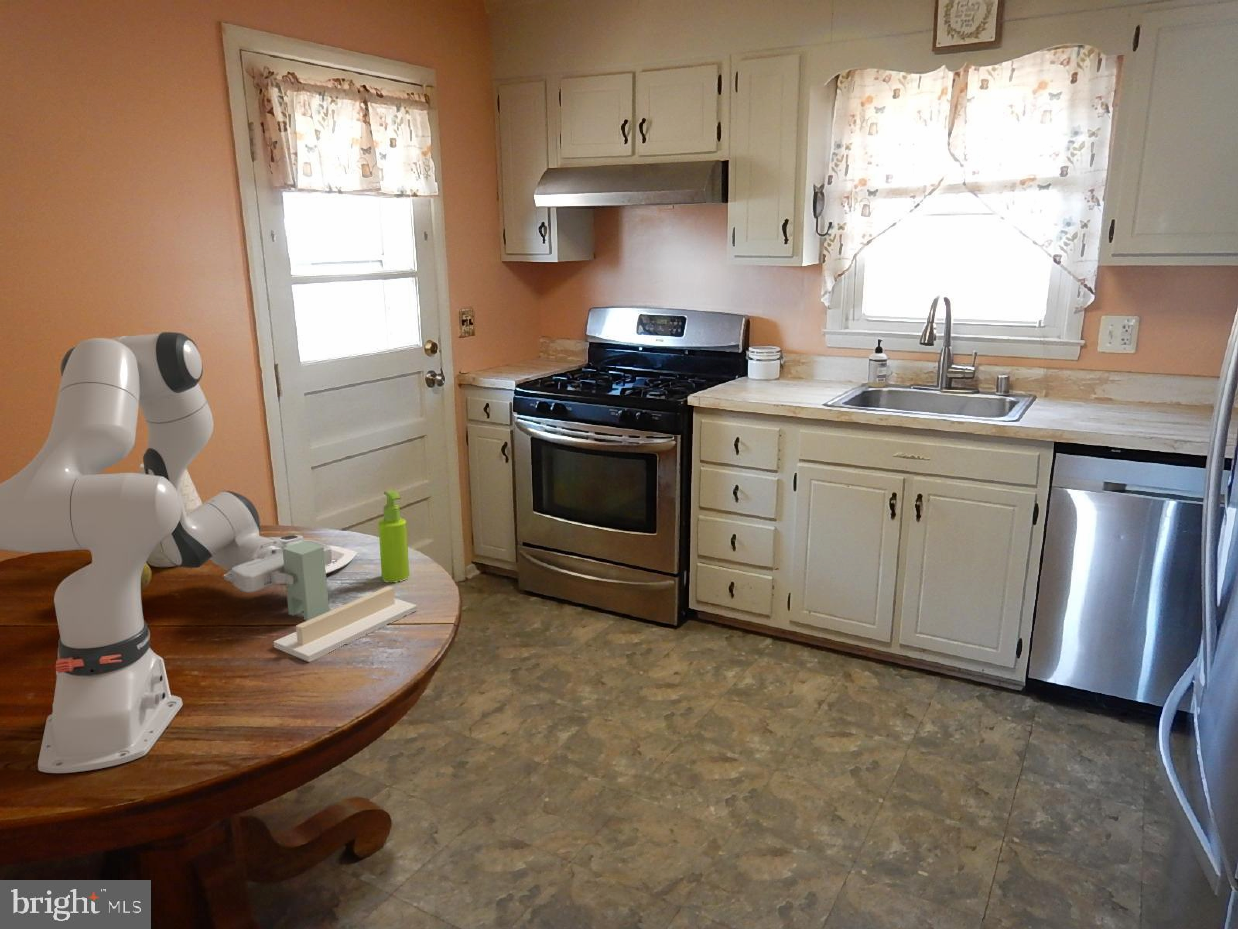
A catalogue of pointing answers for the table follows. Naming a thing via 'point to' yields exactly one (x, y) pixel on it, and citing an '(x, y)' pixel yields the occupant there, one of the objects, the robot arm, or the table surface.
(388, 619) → the rail board
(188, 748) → the table surface
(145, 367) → the robot arm
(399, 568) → the soap dispenser
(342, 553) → the plate
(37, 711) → the table surface
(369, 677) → the table surface
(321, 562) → the tall rectangular block
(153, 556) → the vase
